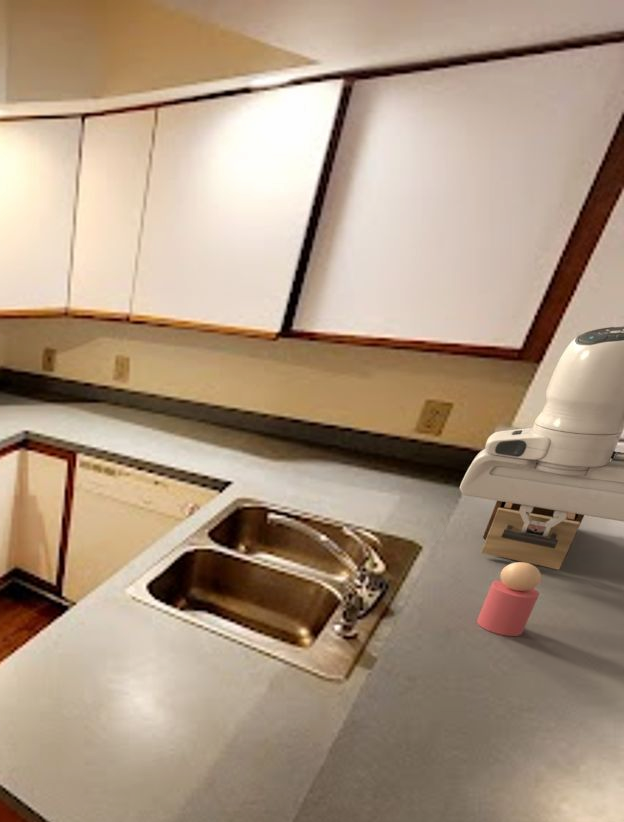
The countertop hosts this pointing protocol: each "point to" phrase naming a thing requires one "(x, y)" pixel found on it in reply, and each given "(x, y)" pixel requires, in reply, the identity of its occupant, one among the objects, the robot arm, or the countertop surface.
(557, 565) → the drawer
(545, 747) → the countertop surface
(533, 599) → the doll
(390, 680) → the countertop surface
